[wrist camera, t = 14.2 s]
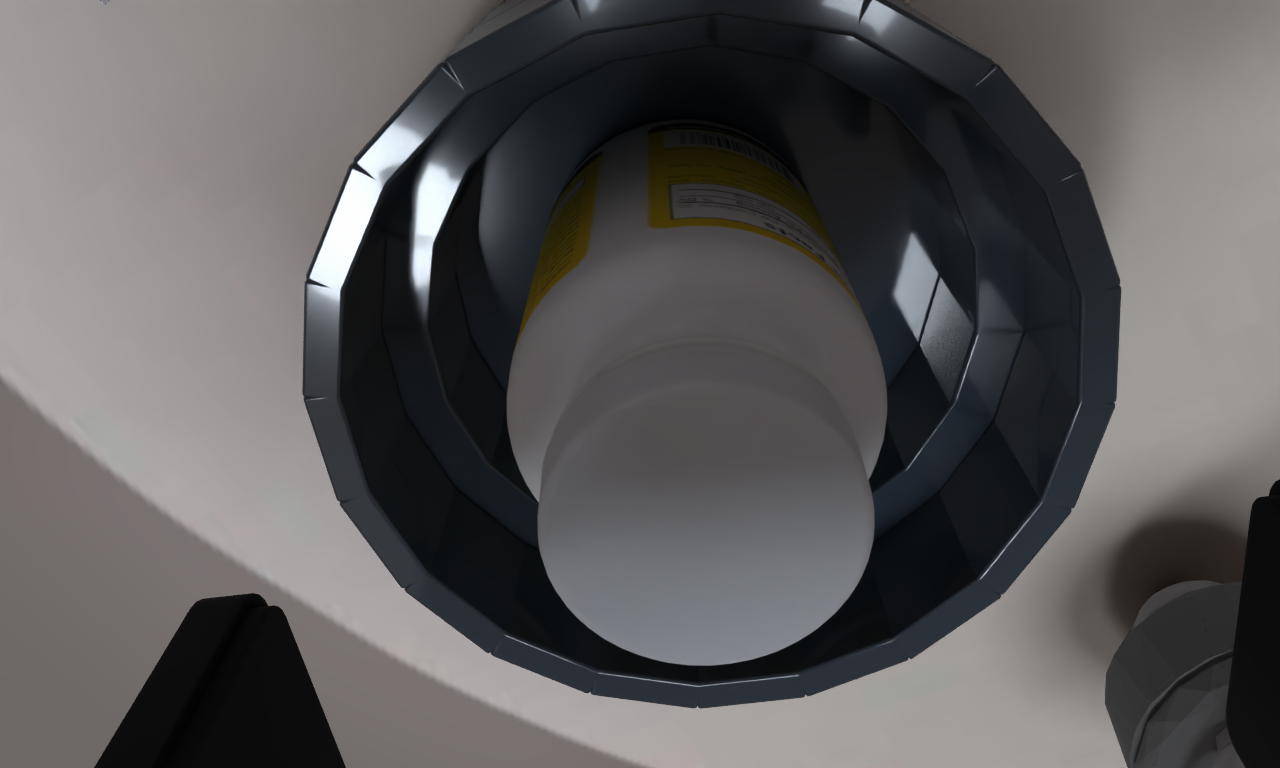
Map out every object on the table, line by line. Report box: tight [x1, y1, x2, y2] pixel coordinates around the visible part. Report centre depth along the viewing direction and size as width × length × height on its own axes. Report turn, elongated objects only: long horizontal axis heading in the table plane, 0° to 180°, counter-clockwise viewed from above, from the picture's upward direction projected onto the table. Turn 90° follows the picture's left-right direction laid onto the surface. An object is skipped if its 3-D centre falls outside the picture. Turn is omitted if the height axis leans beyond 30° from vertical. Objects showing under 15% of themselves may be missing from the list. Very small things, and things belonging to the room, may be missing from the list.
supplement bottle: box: [507, 119, 887, 666], centre depth 17 cm, size 5×5×10 cm
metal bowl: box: [302, 0, 1121, 708], centre depth 19 cm, size 12×12×6 cm
